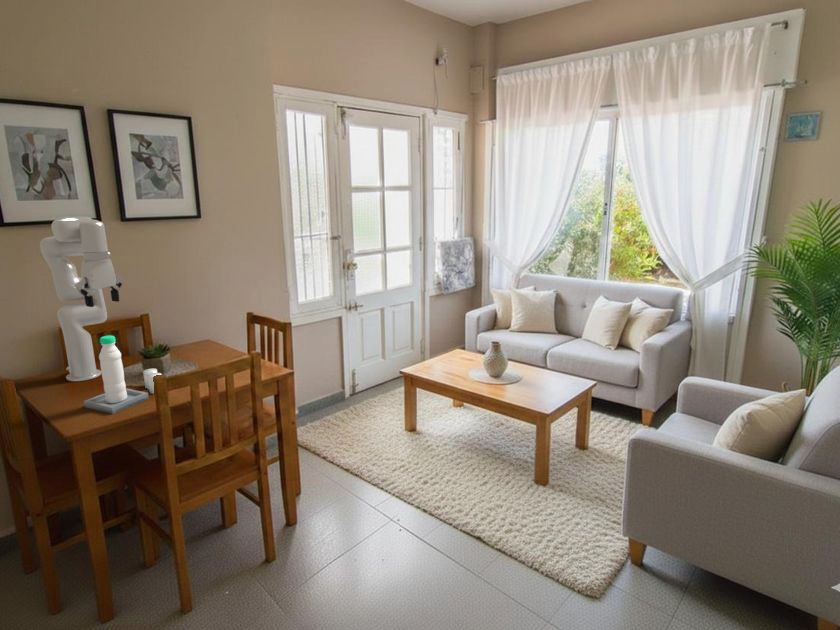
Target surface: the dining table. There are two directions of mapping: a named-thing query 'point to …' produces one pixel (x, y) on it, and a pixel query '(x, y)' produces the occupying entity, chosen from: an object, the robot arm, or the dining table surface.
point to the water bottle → (112, 371)
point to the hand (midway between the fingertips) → (103, 303)
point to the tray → (112, 408)
